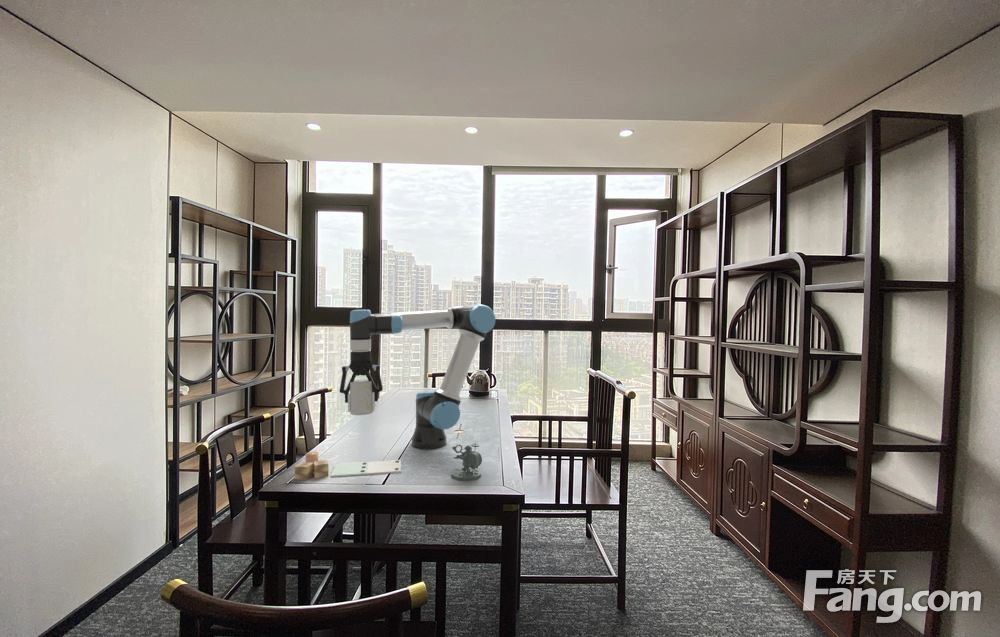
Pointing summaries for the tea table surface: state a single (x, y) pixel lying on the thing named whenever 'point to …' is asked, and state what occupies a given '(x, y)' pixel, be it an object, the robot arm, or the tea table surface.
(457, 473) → the figurine
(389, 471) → the pad two
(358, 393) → the cup
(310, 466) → the oak block
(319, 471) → the oak block
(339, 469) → the pad three
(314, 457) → the terracotta cylinder
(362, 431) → the tea table surface
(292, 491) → the tea table surface
